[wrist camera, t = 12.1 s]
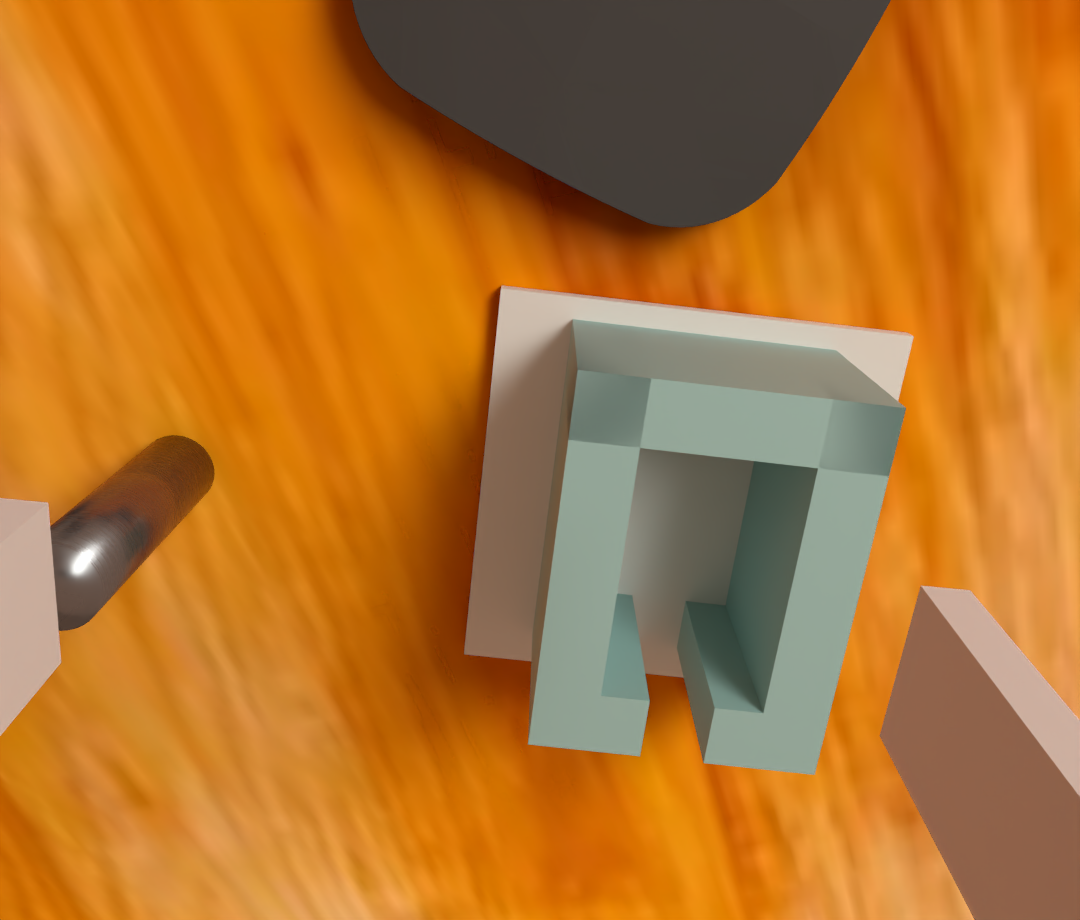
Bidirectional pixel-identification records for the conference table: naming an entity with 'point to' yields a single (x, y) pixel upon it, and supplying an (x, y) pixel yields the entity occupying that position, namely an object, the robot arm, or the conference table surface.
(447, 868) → the conference table surface
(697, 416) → the green u-shaped block
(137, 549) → the grey cylinder
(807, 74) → the media streaming box
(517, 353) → the mat
